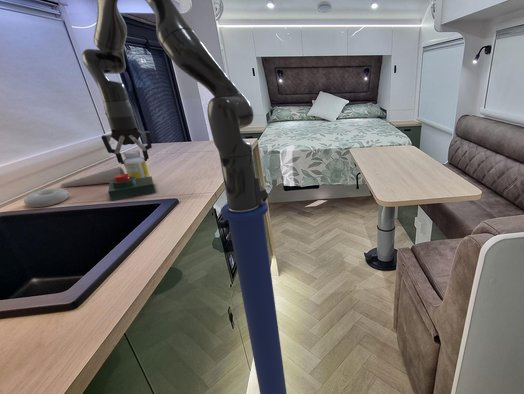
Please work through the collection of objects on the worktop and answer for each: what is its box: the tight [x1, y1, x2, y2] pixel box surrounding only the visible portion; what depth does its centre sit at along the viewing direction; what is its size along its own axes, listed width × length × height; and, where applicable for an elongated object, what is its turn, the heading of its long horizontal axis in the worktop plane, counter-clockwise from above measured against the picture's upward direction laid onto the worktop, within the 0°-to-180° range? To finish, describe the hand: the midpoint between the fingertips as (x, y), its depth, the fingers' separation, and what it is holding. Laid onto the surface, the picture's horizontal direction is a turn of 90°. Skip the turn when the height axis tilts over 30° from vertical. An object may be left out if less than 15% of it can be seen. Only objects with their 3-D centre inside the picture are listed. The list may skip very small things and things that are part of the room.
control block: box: [107, 175, 156, 202], centre depth 98 cm, size 12×10×5 cm
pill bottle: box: [123, 149, 150, 179], centre depth 106 cm, size 6×6×12 cm
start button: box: [114, 173, 130, 182], centre depth 96 cm, size 4×4×2 cm
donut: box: [23, 187, 69, 208], centre depth 90 cm, size 10×4×10 cm
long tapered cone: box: [60, 166, 126, 188], centre depth 104 cm, size 6×6×19 cm
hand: (134, 162), depth 105 cm, fingers closed on pill bottle, 6 cm apart
